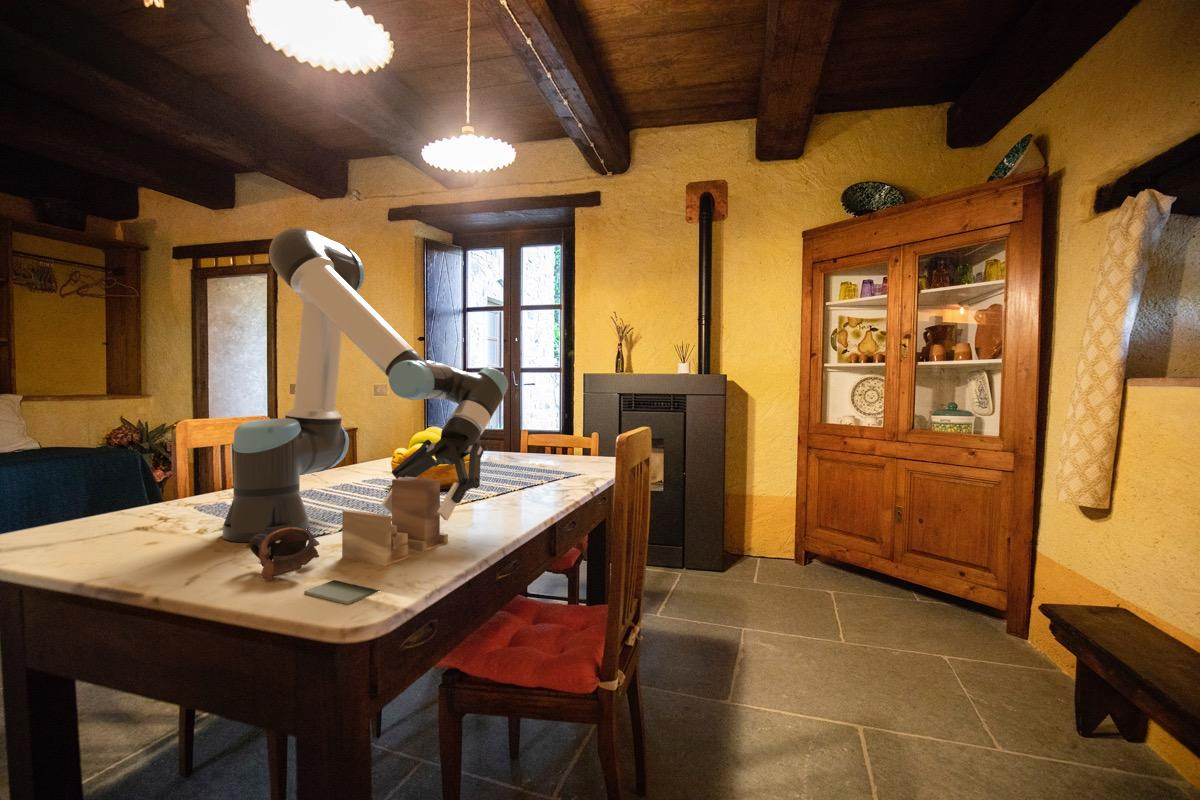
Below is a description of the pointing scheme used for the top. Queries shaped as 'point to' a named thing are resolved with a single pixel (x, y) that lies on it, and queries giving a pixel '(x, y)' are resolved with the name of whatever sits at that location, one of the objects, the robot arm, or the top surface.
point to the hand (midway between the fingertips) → (413, 512)
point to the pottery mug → (284, 551)
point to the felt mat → (340, 591)
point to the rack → (378, 539)
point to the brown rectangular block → (417, 508)
